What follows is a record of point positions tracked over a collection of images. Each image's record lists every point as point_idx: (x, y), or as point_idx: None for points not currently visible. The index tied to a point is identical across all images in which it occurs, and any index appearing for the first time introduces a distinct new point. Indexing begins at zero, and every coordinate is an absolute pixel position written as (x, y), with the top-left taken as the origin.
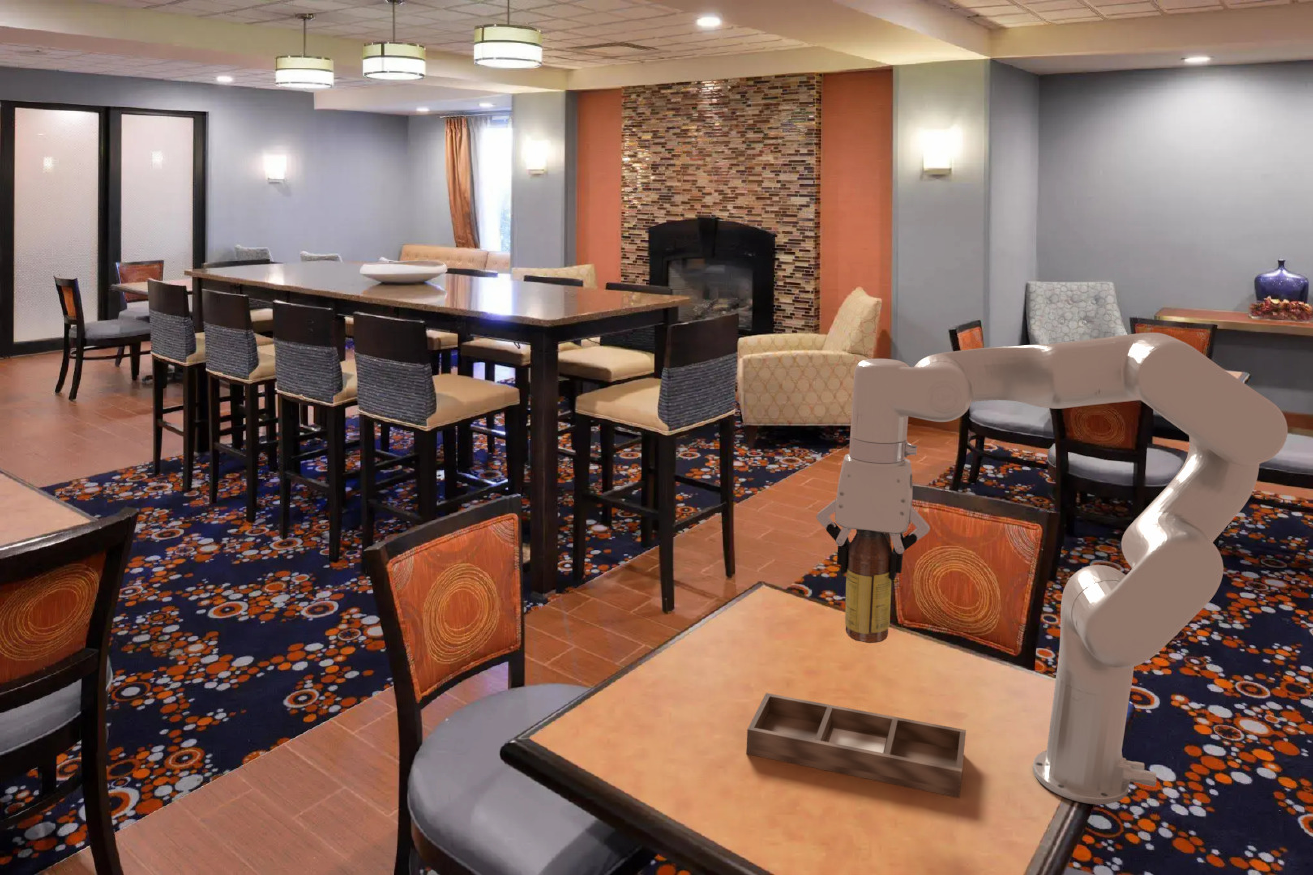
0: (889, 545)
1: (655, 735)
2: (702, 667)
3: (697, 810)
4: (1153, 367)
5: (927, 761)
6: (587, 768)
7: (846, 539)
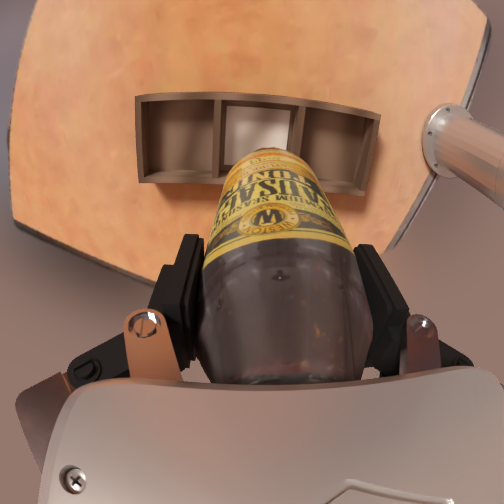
0: (368, 347)
1: (69, 177)
2: (64, 34)
3: (143, 260)
4: None
5: (332, 144)
6: (57, 238)
7: (177, 361)
